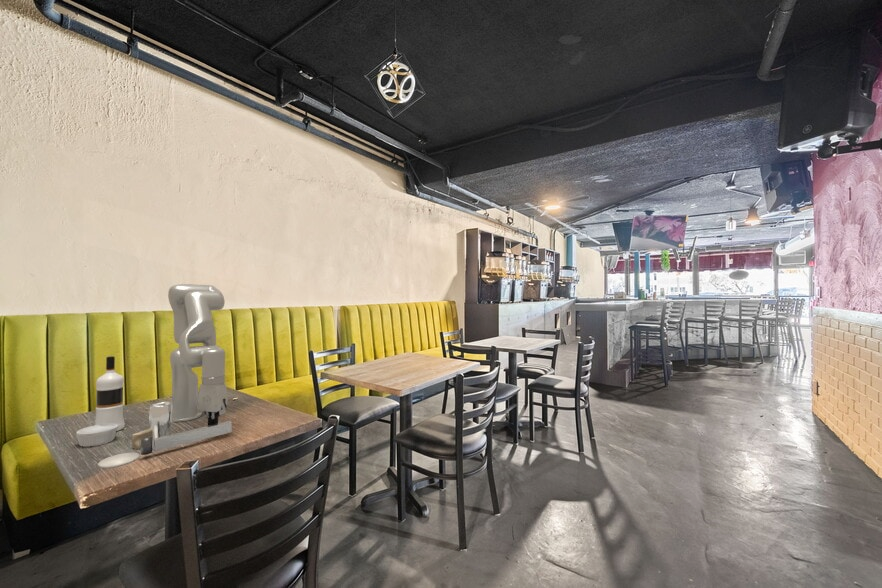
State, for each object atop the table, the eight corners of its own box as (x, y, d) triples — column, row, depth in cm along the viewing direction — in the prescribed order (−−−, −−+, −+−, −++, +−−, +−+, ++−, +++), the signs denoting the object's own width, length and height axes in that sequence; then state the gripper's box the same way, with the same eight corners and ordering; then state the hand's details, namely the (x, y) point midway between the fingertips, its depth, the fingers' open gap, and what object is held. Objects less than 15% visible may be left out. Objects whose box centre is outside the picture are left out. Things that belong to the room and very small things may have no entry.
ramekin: (124, 436, 141) (125, 422, 141) (103, 447, 130) (103, 432, 130) (92, 437, 139) (92, 424, 139) (67, 449, 128) (67, 434, 128)
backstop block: (132, 448, 129) (132, 434, 129) (157, 439, 137) (157, 425, 137) (138, 449, 128) (139, 435, 128) (163, 439, 137) (163, 426, 137)
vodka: (87, 435, 140) (88, 358, 141) (103, 427, 149) (104, 355, 150) (116, 433, 143) (117, 357, 143) (129, 425, 152) (130, 354, 152)
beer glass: (157, 442, 134) (157, 401, 135) (177, 441, 135) (177, 401, 135) (143, 449, 127) (144, 407, 128) (164, 449, 128) (164, 406, 128)
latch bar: (139, 453, 121) (140, 438, 121) (229, 430, 142) (229, 417, 142) (142, 455, 119) (142, 440, 119) (232, 432, 140) (232, 419, 140)
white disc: (90, 465, 115) (90, 464, 115) (124, 453, 125) (124, 451, 125) (114, 469, 113) (114, 467, 113) (146, 456, 123) (146, 454, 123)
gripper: (189, 381, 138) (188, 429, 137) (221, 384, 134) (220, 433, 134) (206, 377, 145) (205, 423, 145) (237, 379, 141) (236, 426, 141)
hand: (212, 428), depth 139 cm, fingers closed
